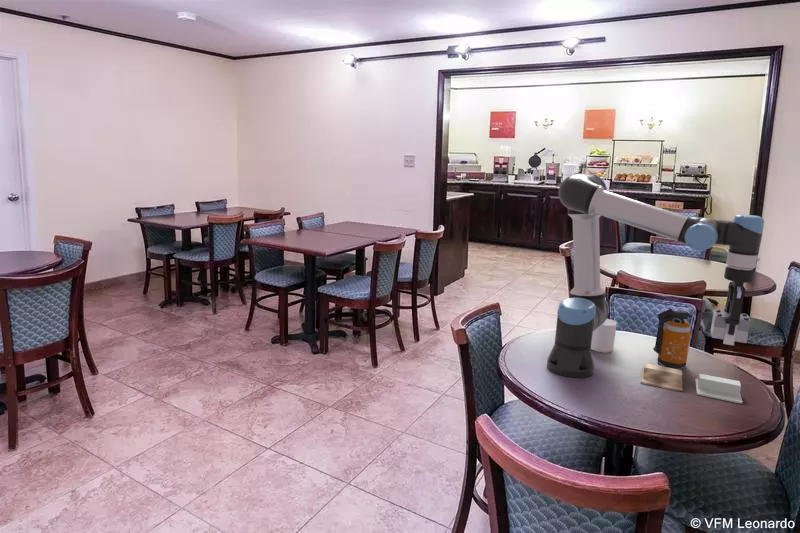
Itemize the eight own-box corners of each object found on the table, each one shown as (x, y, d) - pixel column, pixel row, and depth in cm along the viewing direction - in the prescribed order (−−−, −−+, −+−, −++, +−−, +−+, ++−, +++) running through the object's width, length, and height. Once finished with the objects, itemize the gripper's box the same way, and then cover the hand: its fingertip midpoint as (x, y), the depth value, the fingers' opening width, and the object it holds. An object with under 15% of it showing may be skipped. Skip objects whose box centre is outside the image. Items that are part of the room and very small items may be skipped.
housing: (711, 337, 164) (716, 314, 162) (710, 331, 169) (714, 308, 168) (746, 343, 160) (751, 319, 158) (743, 336, 166) (748, 313, 164)
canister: (688, 371, 183) (698, 315, 179) (654, 367, 185) (662, 312, 181) (681, 361, 192) (690, 307, 187) (648, 358, 194) (656, 304, 189)
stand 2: (696, 394, 166) (699, 382, 165) (695, 380, 176) (697, 368, 176) (742, 403, 161) (744, 391, 160) (737, 388, 171) (739, 376, 171)
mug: (622, 348, 203) (625, 321, 200) (605, 355, 195) (608, 326, 193) (601, 341, 209) (604, 314, 207) (584, 347, 202) (587, 320, 199)
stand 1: (640, 383, 173) (642, 371, 172) (642, 369, 183) (643, 358, 182) (682, 391, 168) (684, 379, 167) (681, 377, 178) (683, 366, 177)
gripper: (760, 275, 150) (745, 353, 155) (750, 263, 167) (737, 333, 172) (729, 271, 153) (715, 348, 158) (723, 259, 170) (710, 329, 175)
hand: (727, 340), depth 165 cm, fingers closed on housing, 6 cm apart
